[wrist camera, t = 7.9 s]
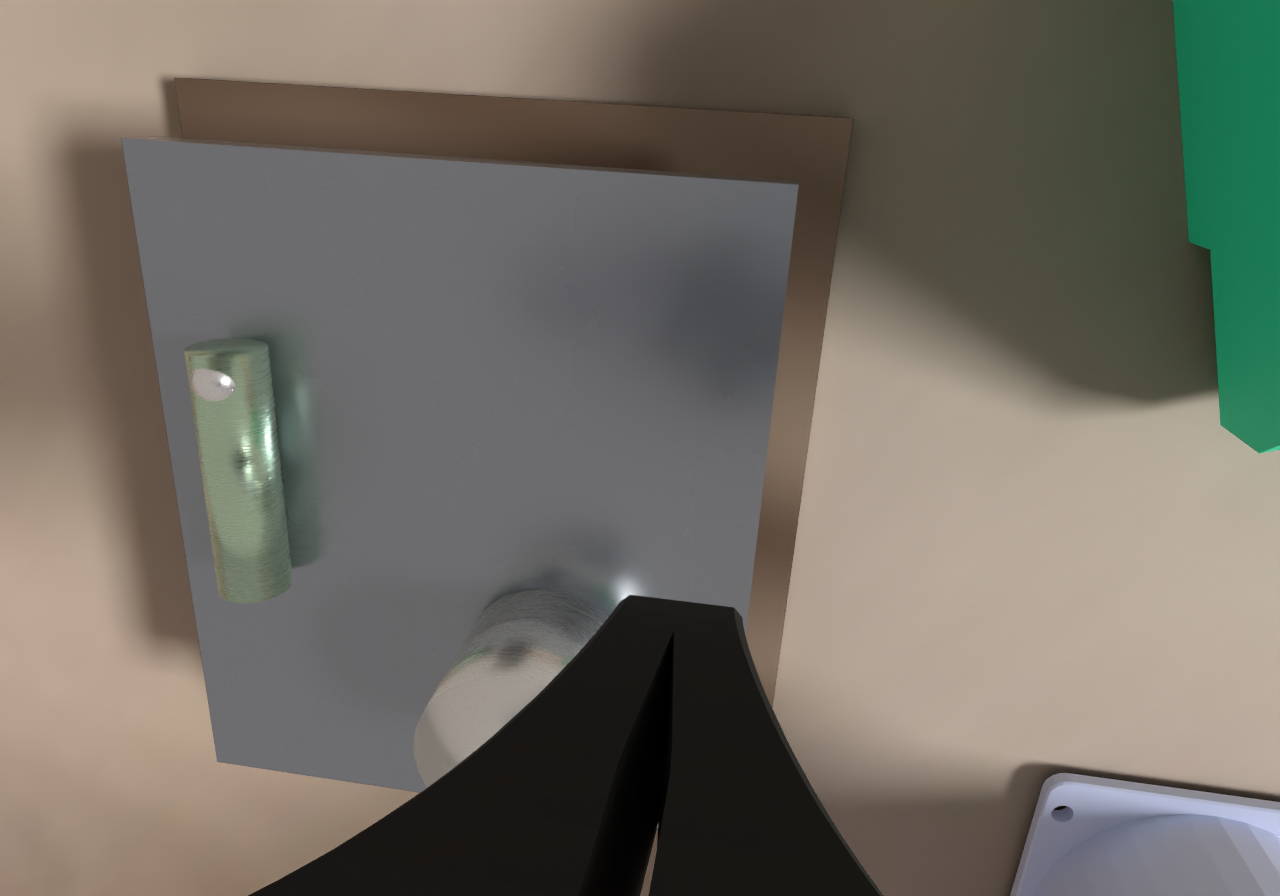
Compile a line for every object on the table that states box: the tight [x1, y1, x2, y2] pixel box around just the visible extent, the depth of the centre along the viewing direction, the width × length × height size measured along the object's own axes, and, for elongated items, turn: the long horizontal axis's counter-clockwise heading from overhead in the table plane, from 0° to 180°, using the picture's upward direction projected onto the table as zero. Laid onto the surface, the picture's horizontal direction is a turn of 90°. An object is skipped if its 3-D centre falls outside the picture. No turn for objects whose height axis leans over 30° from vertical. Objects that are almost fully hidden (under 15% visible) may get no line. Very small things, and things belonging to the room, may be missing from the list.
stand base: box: [174, 78, 853, 707], centre depth 20 cm, size 16×14×3 cm
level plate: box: [121, 136, 799, 828], centre depth 17 cm, size 14×12×4 cm
